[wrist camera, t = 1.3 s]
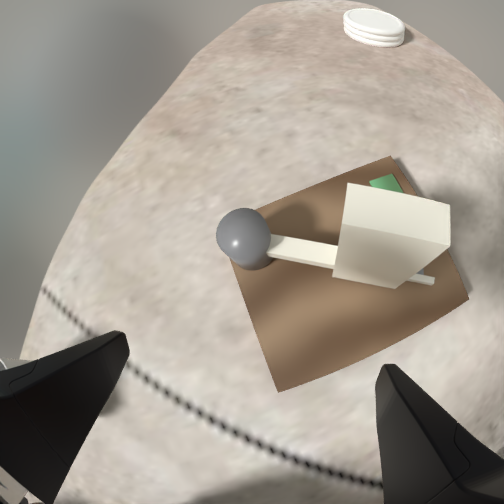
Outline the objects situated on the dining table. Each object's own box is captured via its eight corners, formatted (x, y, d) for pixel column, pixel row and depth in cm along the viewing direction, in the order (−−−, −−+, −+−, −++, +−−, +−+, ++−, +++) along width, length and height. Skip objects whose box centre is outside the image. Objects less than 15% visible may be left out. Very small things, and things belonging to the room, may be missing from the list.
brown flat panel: (461, 301, 19) (470, 298, 17) (280, 389, 20) (277, 393, 19) (387, 164, 24) (390, 154, 22) (224, 232, 26) (217, 224, 24)
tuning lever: (226, 265, 23) (163, 212, 13) (238, 224, 23) (188, 153, 14) (427, 305, 18) (499, 275, 9) (432, 260, 19) (496, 204, 9)
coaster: (331, 28, 33) (330, 12, 30) (373, 19, 33) (373, 4, 29) (373, 53, 30) (374, 35, 26) (415, 44, 29) (417, 27, 26)
